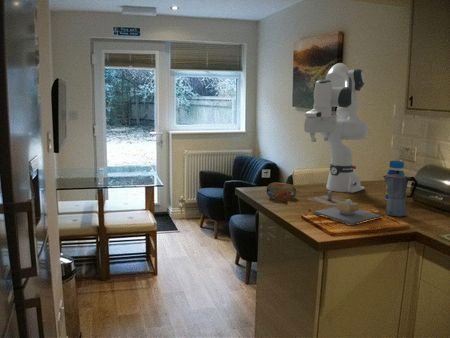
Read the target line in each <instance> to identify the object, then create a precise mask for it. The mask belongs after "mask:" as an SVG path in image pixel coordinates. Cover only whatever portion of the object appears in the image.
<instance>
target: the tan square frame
mask: <svg viewBox="0 0 450 338" xmlns="http://www.w3.org/2000/svg"><path fill="white" fill-rule="evenodd" d="M351 203H352V204H349V205H348V204H345V201H342V202H337V205H336V207H337V209H338V210H341V211H345V212H348V213H350V212H354V211H359V210H360V203H357V202H354V201H353V202H351Z"/></svg>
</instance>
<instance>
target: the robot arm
mask: <svg viewBox="0 0 450 338" xmlns="http://www.w3.org/2000/svg"><path fill="white" fill-rule="evenodd" d="M365 82H366V75H365V73H364V71H363V70H362V69H360V68H354V69H350V70H349V67H348V66H347V65H346V64H345V63H343V62H338V63H336V64H334V65H332V67H330V69H329V70H328V72H327V73H326V76H325V79H318V80H316V82H315V85H314V92H313V101H314V102H313V106H312V109H310V110H309V111H308V110H307V111H306V112H305V114H304V116H305V119H304V123H303V124H304V127H303V129H304V132H305V133H309V136H310V138H311V139H310V140H311V143H315V142H317V138H316V137H315V135H316V133H318V134H319V133H320V135H321V136H322V137H323V138H324V139H323V140H324V141H323V142H327V143H328V145H329V147H330V151H331V158H330V159H331V160H330V161H331V162H330V165H329V174H328V178H327V183H326V184H325V187H326V190H327V191H332V192H338V193H356V192H359V191H363V190H365V186H362V185H361V178H360V177H359V176H358V175H357V174H356V173H355V172H354V170H356V169H357V166H356V165H354V164H353V150H352V149H351V148H350V147H348V146H347V145H345V144H343V141H344V140H345V141H361V140H365V139H366V138H367V136H368V135H369V131H370V129H369V125H368V123H367V122H366V121H364V120H362V119H361V118H360V117H359V115H358V107H359V106H358V105H359V104H358V103H359V101H358V100H359V99H358V94H357V91H358V92H360V91H361V89H362V88H363V87H364V85H365V84H366V83H365ZM332 107H337V108H336V114H335V113H333V112H332Z"/></svg>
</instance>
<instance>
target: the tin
mask: <svg viewBox="0 0 450 338" xmlns="http://www.w3.org/2000/svg"><path fill="white" fill-rule="evenodd" d="M266 194H267V196H268V198H270V199H272V200H277V201H284V202H288V201H289V199H295V198H296V195H297V189H296V186H294V185H293V184H291V183H283V182H276V181H275V182H271V183H269V184H268V185H267V186H266Z"/></svg>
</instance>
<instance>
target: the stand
mask: <svg viewBox="0 0 450 338" xmlns="http://www.w3.org/2000/svg"><path fill="white" fill-rule="evenodd" d="M307 200H309V201H312V202H316V203H319V204H323V205H327V206H330V207H336V206H337V202H342V201H345V200H346V199H345V198H341V197H337V196H333V191H331V190H327V194H326V195H320V196H315V197H308V198H307ZM351 202H354V201H352V200H351Z"/></svg>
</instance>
